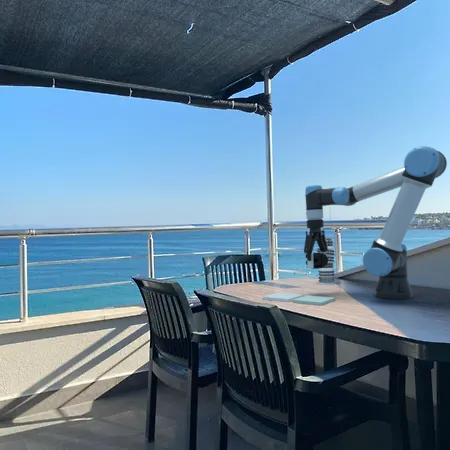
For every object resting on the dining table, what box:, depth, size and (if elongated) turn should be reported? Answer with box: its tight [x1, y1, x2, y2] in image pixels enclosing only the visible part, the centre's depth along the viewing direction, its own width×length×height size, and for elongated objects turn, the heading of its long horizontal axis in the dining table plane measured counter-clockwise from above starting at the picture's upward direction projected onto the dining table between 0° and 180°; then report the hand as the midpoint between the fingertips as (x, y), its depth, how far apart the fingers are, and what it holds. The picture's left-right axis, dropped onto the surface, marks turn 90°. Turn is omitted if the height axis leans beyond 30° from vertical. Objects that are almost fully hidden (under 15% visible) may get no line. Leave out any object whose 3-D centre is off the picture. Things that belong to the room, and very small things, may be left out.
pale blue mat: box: [262, 292, 304, 303], centre depth 186 cm, size 13×13×1 cm
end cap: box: [305, 252, 328, 270], centre depth 193 cm, size 10×7×7 cm
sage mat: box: [291, 294, 336, 306], centre depth 177 cm, size 13×13×1 cm
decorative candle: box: [316, 237, 336, 286], centre depth 230 cm, size 9×9×25 cm
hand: (316, 267), depth 193 cm, fingers closed on end cap, 11 cm apart
